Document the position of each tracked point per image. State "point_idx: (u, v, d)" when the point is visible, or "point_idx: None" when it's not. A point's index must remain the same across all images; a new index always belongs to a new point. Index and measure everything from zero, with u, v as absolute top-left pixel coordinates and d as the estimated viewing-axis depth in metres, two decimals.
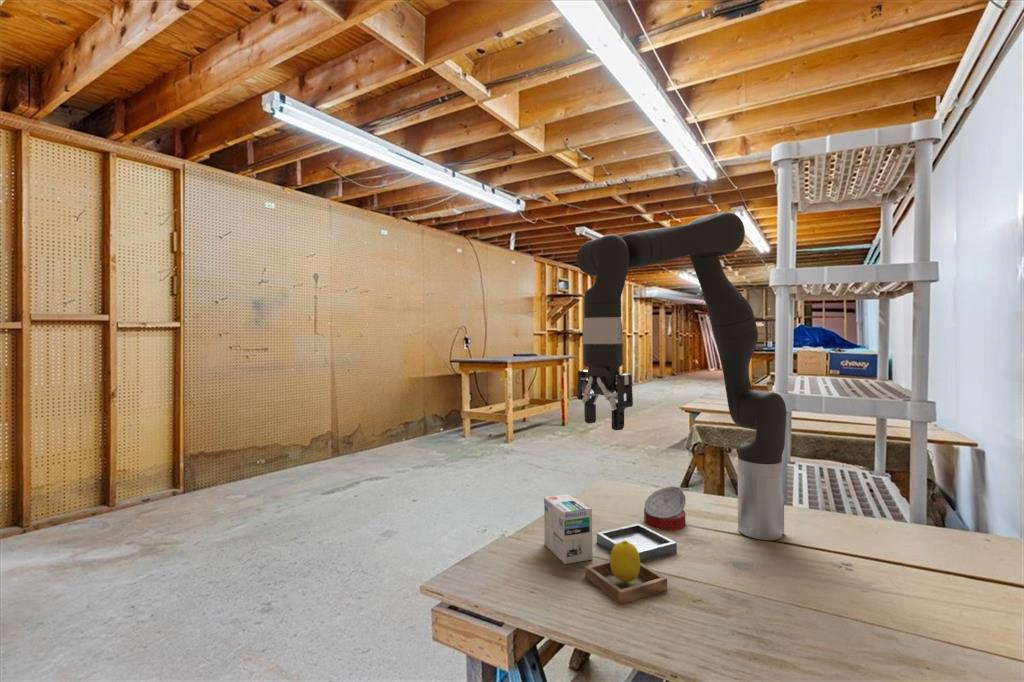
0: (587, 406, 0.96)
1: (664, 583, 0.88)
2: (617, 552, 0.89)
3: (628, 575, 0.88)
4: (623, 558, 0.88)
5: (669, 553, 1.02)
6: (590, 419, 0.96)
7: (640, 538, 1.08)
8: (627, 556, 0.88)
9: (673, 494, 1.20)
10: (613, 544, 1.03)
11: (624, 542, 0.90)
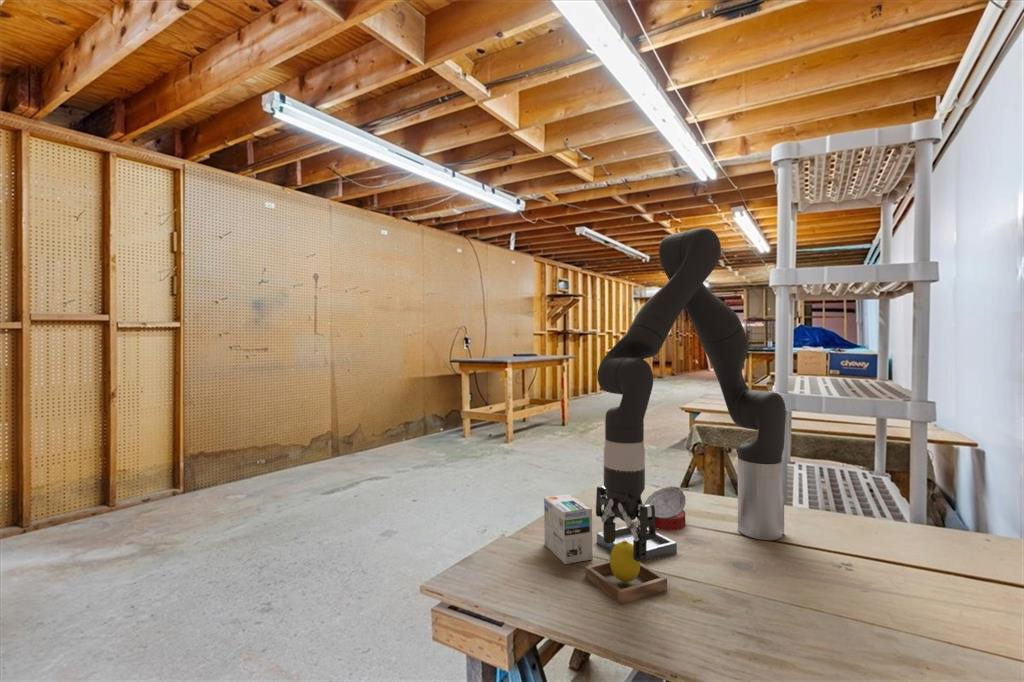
0: (606, 526, 0.93)
1: (664, 583, 0.88)
2: (617, 552, 0.89)
3: (628, 575, 0.88)
4: (623, 558, 0.88)
5: (669, 553, 1.02)
6: (609, 539, 0.94)
7: None
8: (627, 556, 0.88)
9: (673, 494, 1.20)
10: (613, 544, 1.03)
11: (624, 542, 0.90)
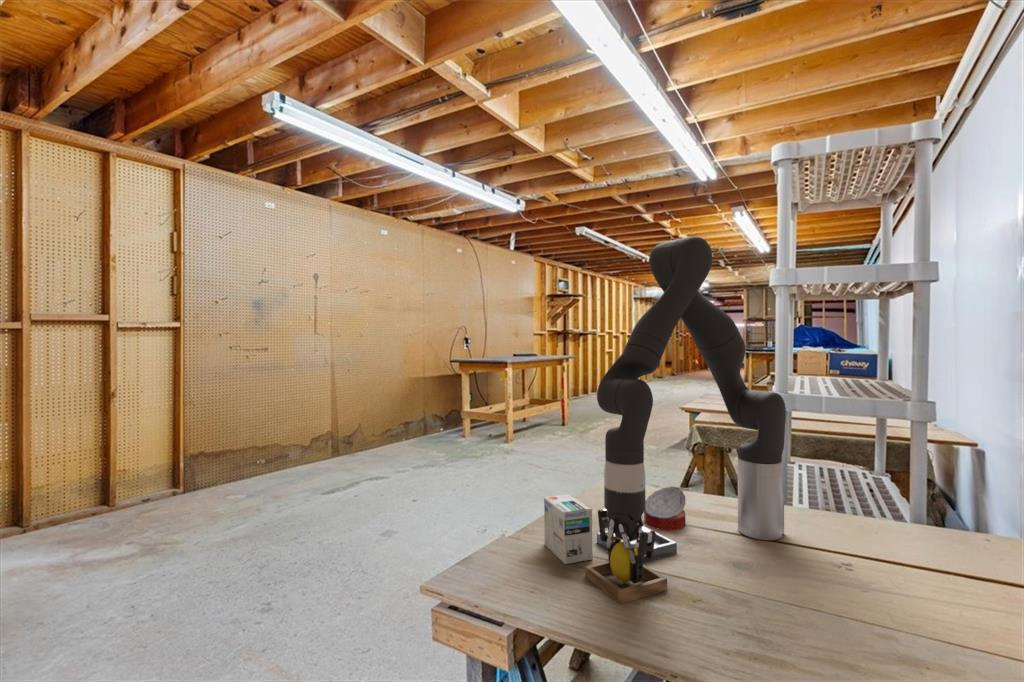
0: (611, 551, 0.92)
1: (664, 583, 0.88)
2: (617, 552, 0.89)
3: (628, 575, 0.88)
4: (623, 558, 0.88)
5: (669, 553, 1.02)
6: None
7: None
8: (627, 556, 0.88)
9: (673, 494, 1.20)
10: None
11: None
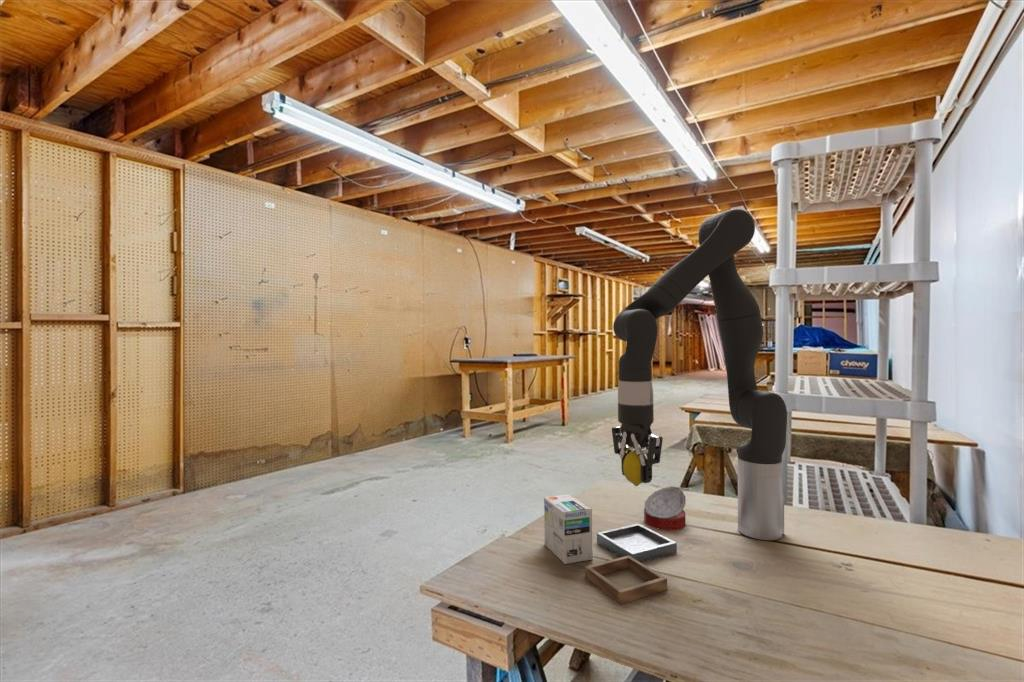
0: None
1: (664, 583, 0.88)
2: (630, 458, 1.04)
3: (638, 476, 1.03)
4: (635, 462, 1.03)
5: (669, 553, 1.02)
6: None
7: (640, 538, 1.08)
8: (638, 461, 1.03)
9: (673, 494, 1.20)
10: (613, 544, 1.03)
11: (635, 450, 1.05)
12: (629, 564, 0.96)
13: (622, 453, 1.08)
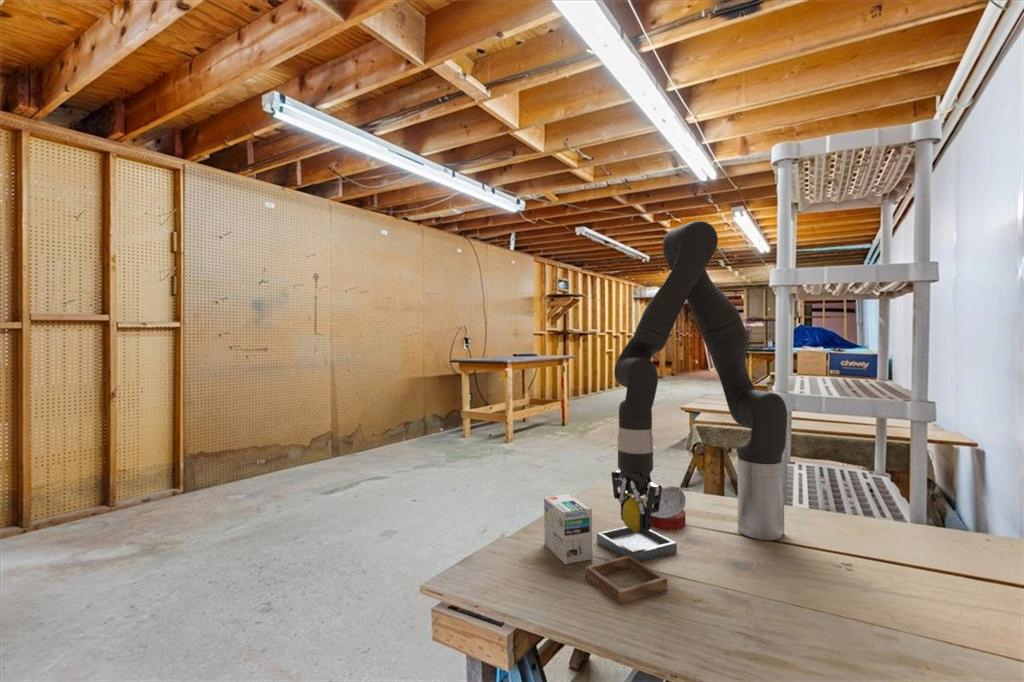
0: None
1: (664, 583, 0.88)
2: (629, 505, 1.04)
3: (638, 524, 1.03)
4: (634, 510, 1.03)
5: (669, 553, 1.02)
6: None
7: (640, 538, 1.08)
8: (637, 508, 1.03)
9: (673, 494, 1.20)
10: (613, 544, 1.03)
11: (634, 497, 1.05)
12: (629, 564, 0.96)
13: (621, 499, 1.08)
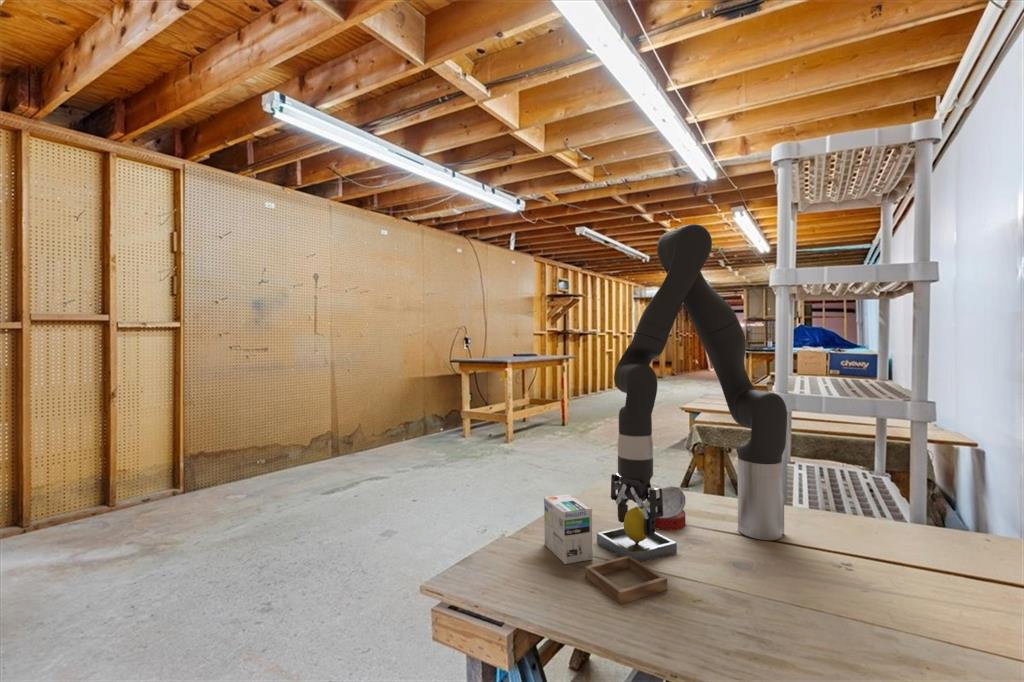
0: (620, 507, 1.09)
1: (664, 583, 0.88)
2: (630, 516, 1.04)
3: (639, 535, 1.03)
4: (635, 520, 1.03)
5: (669, 553, 1.02)
6: (623, 519, 1.09)
7: None
8: (638, 519, 1.03)
9: (673, 494, 1.20)
10: (613, 544, 1.03)
11: (636, 508, 1.05)
12: (629, 564, 0.96)
13: (618, 500, 1.09)
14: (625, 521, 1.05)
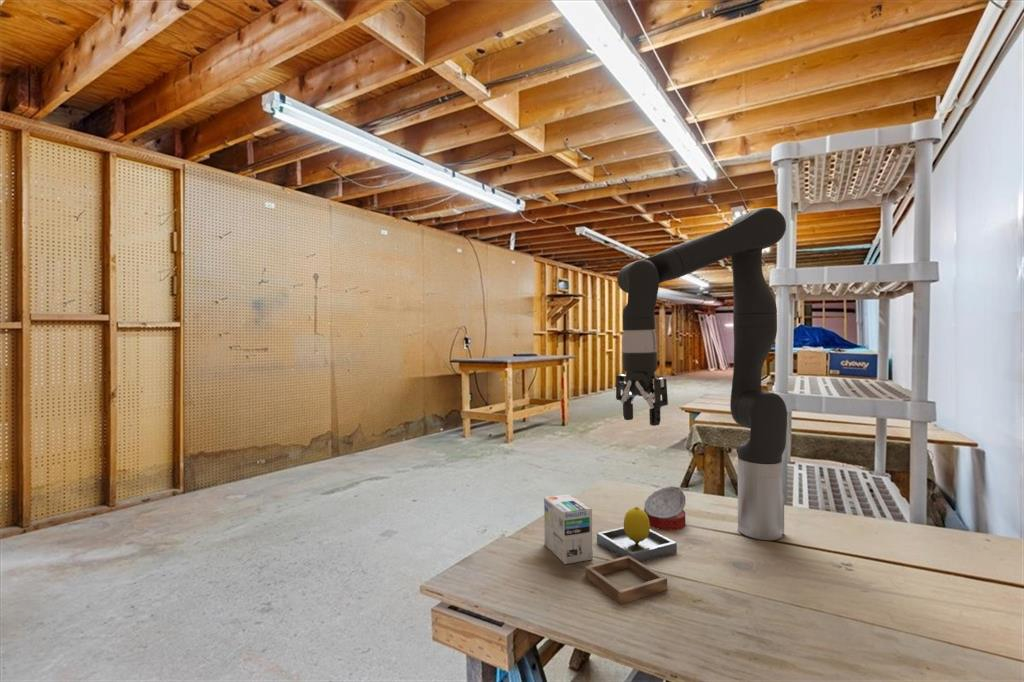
0: (626, 405, 1.12)
1: (664, 583, 0.88)
2: (630, 516, 1.04)
3: (639, 535, 1.03)
4: (635, 521, 1.03)
5: (669, 553, 1.02)
6: (628, 416, 1.12)
7: None
8: (638, 519, 1.03)
9: (673, 494, 1.20)
10: (613, 544, 1.03)
11: (636, 508, 1.05)
12: (629, 564, 0.96)
13: (623, 398, 1.12)
14: (625, 521, 1.05)
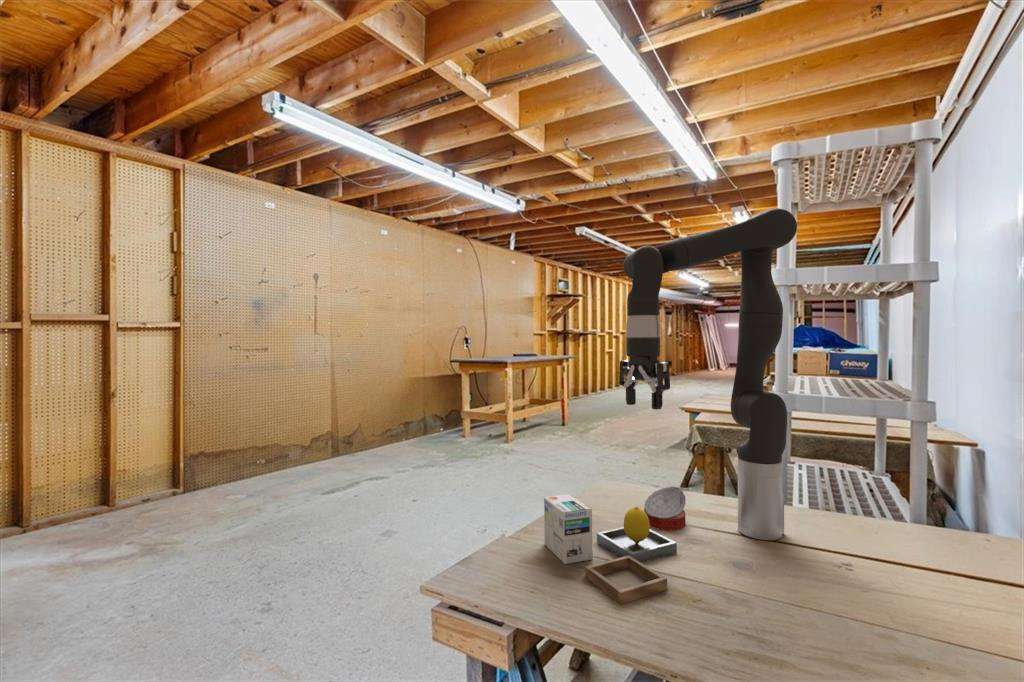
0: (628, 390, 1.13)
1: (664, 583, 0.88)
2: (630, 516, 1.04)
3: (639, 535, 1.03)
4: (635, 520, 1.03)
5: (669, 553, 1.02)
6: (631, 401, 1.14)
7: None
8: (638, 519, 1.03)
9: (673, 494, 1.20)
10: (613, 544, 1.03)
11: (636, 508, 1.05)
12: (629, 564, 0.96)
13: (626, 383, 1.14)
14: (625, 521, 1.05)
